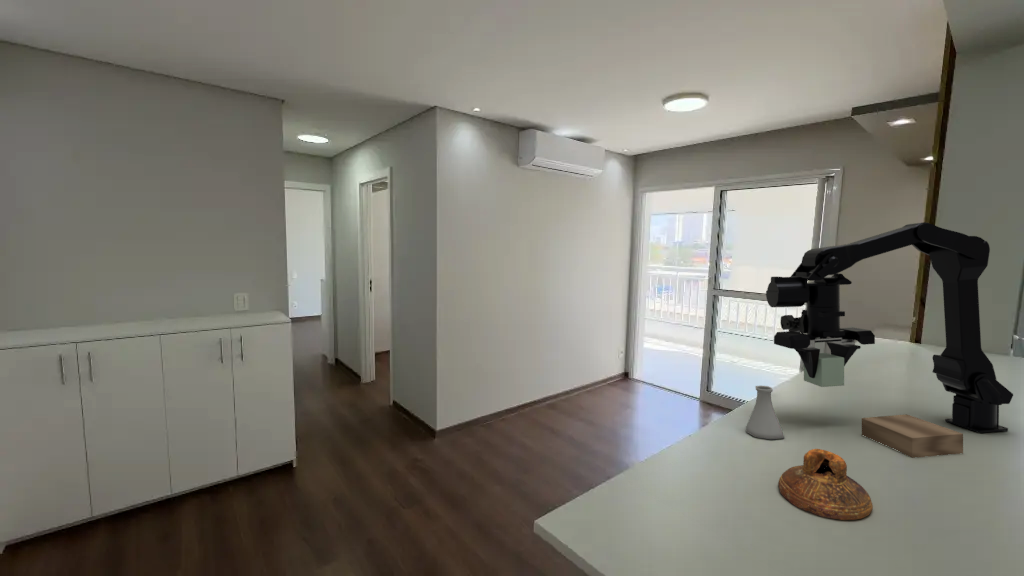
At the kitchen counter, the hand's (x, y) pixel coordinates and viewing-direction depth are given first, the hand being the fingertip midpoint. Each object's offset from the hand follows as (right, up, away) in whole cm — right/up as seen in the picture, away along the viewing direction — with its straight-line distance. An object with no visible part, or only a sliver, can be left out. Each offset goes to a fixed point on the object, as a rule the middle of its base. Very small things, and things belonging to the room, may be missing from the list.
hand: (823, 376), depth 90 cm
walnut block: (+9, -11, -10) cm, 18 cm away
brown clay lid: (-20, -14, -26) cm, 35 cm away
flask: (-14, -12, -2) cm, 19 cm away
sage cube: (0, -1, 0) cm, 1 cm away
